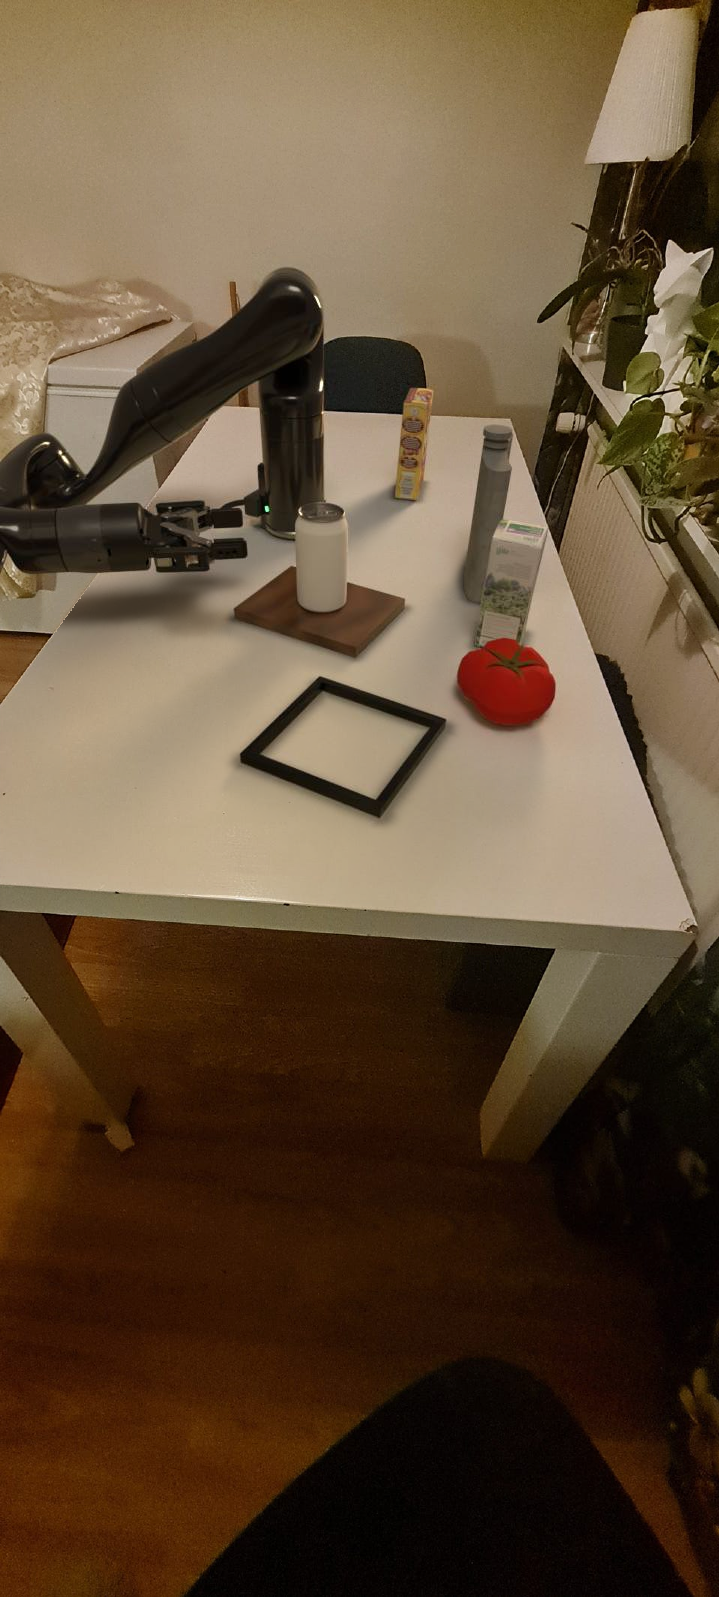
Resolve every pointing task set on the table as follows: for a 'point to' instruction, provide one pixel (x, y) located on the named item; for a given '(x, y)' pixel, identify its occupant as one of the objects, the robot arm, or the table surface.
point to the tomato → (507, 682)
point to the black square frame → (328, 788)
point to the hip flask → (487, 506)
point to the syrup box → (510, 581)
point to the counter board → (321, 615)
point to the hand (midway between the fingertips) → (244, 532)
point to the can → (321, 557)
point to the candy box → (413, 443)
